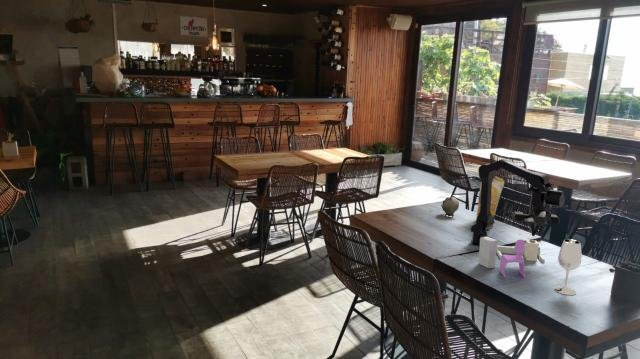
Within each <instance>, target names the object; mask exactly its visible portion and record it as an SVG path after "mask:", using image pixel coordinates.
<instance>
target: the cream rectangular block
mask: <svg viewBox="0 0 640 359" xmlns="http://www.w3.org/2000/svg"><path fill="white" fill-rule="evenodd" d="M538 247H540V243H539V242H538V241H537V240H534V239H525V251H524V255H523V258H524V259H525V260H526V261H537V260H538V257H537V254H538Z"/></svg>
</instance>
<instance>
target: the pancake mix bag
mask: <svg viewBox="0 0 640 359" xmlns="http://www.w3.org/2000/svg"><path fill="white" fill-rule="evenodd" d="M505 182H506V180H505V179H504V178H503V177H501V176H500V177H499V176H496V175H495V177H494V179H493V181H492V190H491V208H490V212H491V214H492V215H494V216H495V215H496V211H497V207H498V204H499V201H500V199H501V196H502V195H501V194H502V191H503V189H504V186H505ZM480 201H481V184H480V186H479V193H478V204H477V212H476V217H475V218H476V219H475V221H476V220H477V216H478V214H479V212H480ZM491 228H492V229H493V228H494V225H493V226H492V227H491ZM491 228H490V229H491Z"/></svg>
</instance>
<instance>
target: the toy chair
mask: <svg viewBox="0 0 640 359" xmlns="http://www.w3.org/2000/svg"><path fill="white" fill-rule="evenodd" d="M525 243H526V240H523V239H518V240H516V241H515V246H514V247H515V251H516V252H517V254H502V257H501V259H500V261H499V262H500V263H499V265H500V266H499V272H500V273H501V275H503V277H504V278H507V276H506V270H505V269H506V266H507V264H509V263H511V264H512V263H518V266H519V267H518V273H519V274H520V275H521V277H522V278H524V279H526V275H525V263H524V262H525V261H524V259H523V260H522V259H521V258H522V256H523V255H522V254H523V252H524V249H525Z"/></svg>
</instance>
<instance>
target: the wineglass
mask: <svg viewBox="0 0 640 359" xmlns="http://www.w3.org/2000/svg"><path fill="white" fill-rule="evenodd" d="M557 256H558V257H557V260H558V264H559V265H560V266H561V268H563V269H564V270H565V280H564V281H565V282H564V285H563V286H562V285H561V286H560V285H558V286H555V287H554V288H553V289H554V291H555V292H557V293H559V294H562V295H566V296H574V295H576V294H577V291H575V290H574V289H573V288H571V287H569V286H568V279H569V275H570V271H571V272H572V271H575V270H577V269H578V268H579V267H580V266H581V264H582V256H583V255H582V243H581V242H580V241H579V240H576V239H571V238H566V239H564V240H563V242H562V244H561V247H560V249H559V252H558V255H557Z"/></svg>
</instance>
